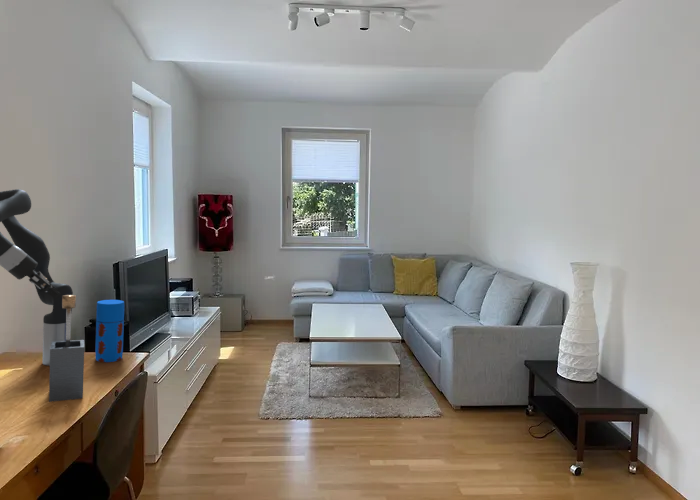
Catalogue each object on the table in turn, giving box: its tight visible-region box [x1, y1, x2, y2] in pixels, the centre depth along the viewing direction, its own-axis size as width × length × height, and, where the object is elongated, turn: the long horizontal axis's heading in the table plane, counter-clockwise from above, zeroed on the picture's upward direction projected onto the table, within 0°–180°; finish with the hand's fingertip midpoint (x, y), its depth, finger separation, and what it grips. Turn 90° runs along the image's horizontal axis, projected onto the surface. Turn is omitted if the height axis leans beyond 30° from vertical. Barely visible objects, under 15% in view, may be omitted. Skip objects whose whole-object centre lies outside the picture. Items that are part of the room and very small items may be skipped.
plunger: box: [62, 294, 77, 347], centre depth 169 cm, size 7×7×26 cm
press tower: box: [48, 339, 85, 403], centre depth 170 cm, size 10×10×18 cm
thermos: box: [94, 299, 125, 363], centre depth 212 cm, size 11×11×25 cm
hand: (57, 294), depth 165 cm, fingers open, 8 cm apart
